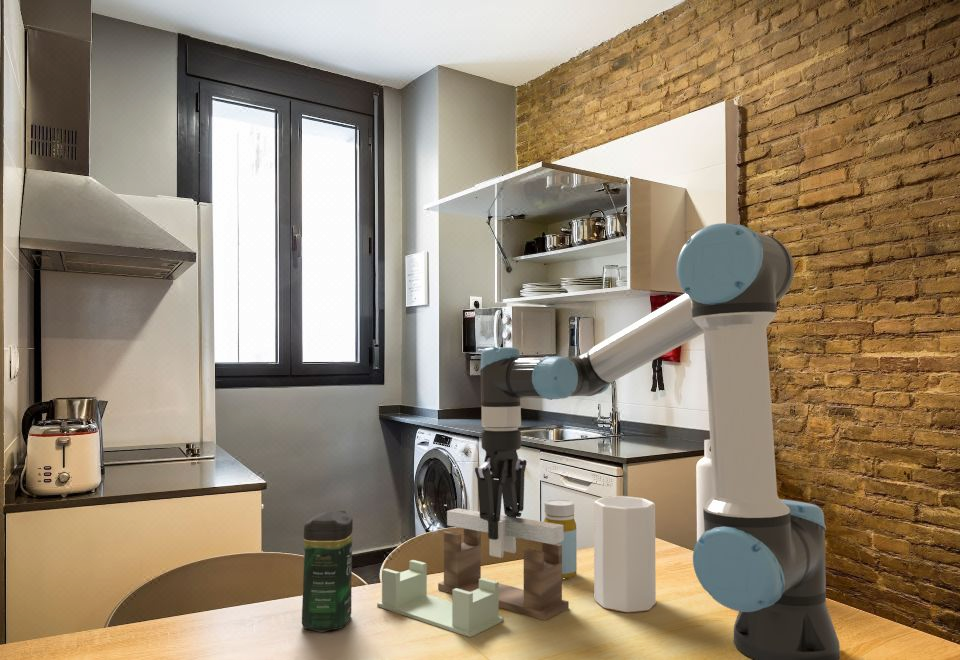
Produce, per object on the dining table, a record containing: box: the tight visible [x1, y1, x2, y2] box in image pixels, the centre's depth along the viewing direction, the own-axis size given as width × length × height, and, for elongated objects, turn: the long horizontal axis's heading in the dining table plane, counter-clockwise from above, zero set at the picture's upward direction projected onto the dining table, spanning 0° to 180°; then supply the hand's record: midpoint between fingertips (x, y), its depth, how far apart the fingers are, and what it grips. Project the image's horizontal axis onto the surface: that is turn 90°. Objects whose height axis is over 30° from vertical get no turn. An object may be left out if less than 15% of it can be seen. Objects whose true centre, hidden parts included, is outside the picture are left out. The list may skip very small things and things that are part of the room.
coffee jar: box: [301, 509, 354, 632], centre depth 118 cm, size 10×8×19 cm
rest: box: [376, 559, 504, 638], centre depth 122 cm, size 22×9×7 cm, turn 51°
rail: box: [446, 507, 564, 544], centre depth 130 cm, size 25×3×3 cm, turn 51°
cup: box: [593, 495, 657, 614], centre depth 128 cm, size 11×11×18 cm
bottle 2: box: [695, 439, 713, 542], centre depth 143 cm, size 8×8×28 cm
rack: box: [437, 528, 570, 621], centre depth 130 cm, size 25×8×11 cm, turn 51°
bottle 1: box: [543, 498, 578, 579], centre depth 144 cm, size 7×7×15 cm
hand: (502, 553), depth 129 cm, fingers closed on rail, 3 cm apart
